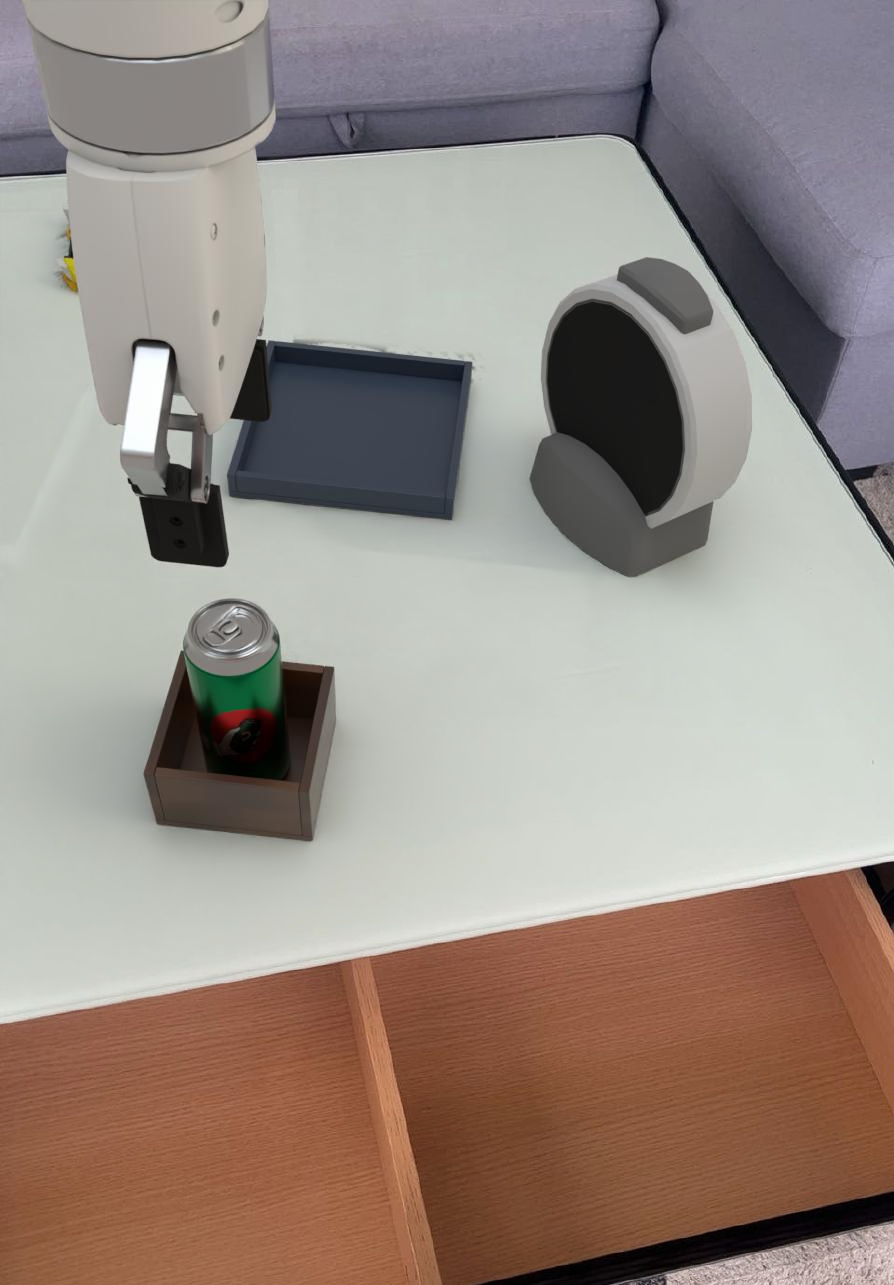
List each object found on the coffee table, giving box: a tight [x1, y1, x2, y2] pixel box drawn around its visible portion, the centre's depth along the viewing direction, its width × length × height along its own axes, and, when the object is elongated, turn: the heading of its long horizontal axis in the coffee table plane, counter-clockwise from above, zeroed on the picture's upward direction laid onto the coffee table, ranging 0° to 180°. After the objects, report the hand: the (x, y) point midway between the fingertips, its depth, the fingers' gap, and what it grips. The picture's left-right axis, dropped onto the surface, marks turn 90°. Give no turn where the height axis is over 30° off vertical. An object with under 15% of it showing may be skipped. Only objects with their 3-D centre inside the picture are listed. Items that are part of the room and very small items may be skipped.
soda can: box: [182, 597, 291, 780], centre depth 66 cm, size 5×5×12 cm
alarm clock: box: [529, 256, 753, 578], centre depth 79 cm, size 16×10×18 cm, turn 33°
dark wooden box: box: [143, 650, 337, 842], centre depth 69 cm, size 9×9×5 cm
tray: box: [226, 339, 473, 521], centre depth 89 cm, size 16×16×2 cm
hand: (215, 483), depth 53 cm, fingers open, 9 cm apart
